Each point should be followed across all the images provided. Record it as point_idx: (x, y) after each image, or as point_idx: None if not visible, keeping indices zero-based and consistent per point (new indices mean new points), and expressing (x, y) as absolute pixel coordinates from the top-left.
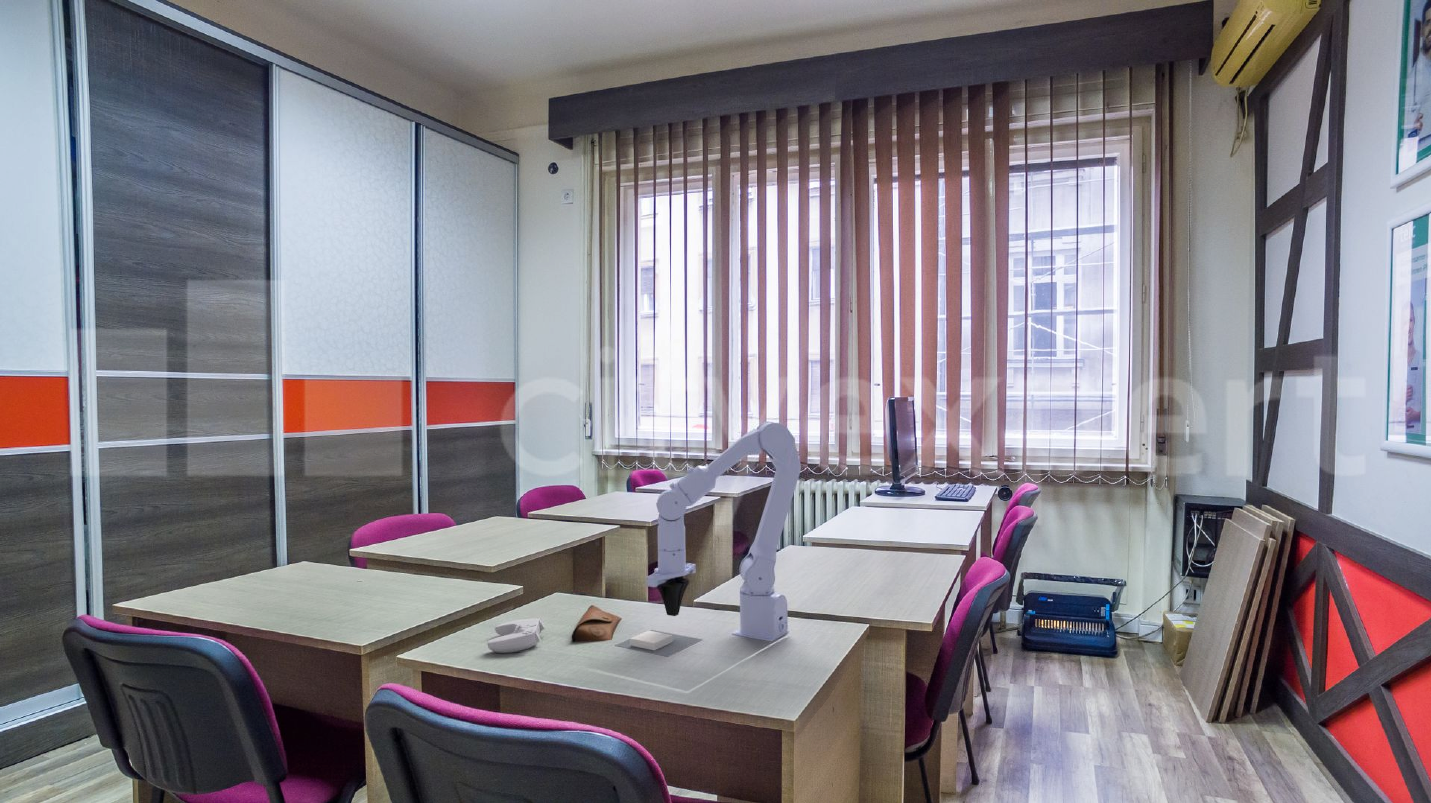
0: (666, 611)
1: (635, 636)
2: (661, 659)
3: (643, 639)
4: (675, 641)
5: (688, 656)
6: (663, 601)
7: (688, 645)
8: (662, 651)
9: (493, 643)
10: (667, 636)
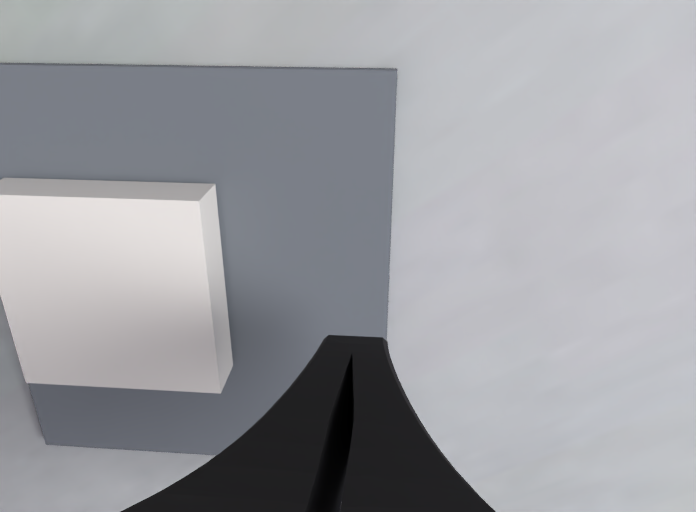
0: (317, 351)
1: (28, 200)
2: (22, 418)
3: (25, 287)
4: (262, 363)
5: (144, 494)
6: (278, 399)
7: None
8: (83, 387)
9: None
10: (176, 381)
